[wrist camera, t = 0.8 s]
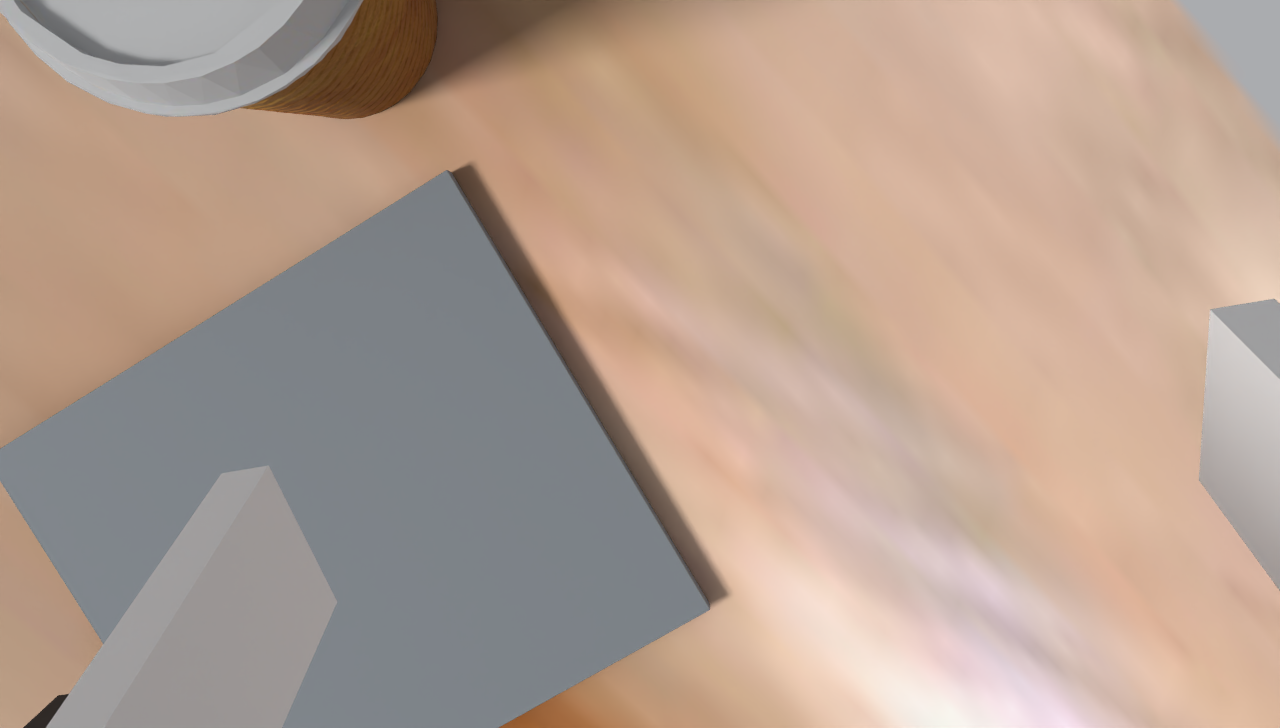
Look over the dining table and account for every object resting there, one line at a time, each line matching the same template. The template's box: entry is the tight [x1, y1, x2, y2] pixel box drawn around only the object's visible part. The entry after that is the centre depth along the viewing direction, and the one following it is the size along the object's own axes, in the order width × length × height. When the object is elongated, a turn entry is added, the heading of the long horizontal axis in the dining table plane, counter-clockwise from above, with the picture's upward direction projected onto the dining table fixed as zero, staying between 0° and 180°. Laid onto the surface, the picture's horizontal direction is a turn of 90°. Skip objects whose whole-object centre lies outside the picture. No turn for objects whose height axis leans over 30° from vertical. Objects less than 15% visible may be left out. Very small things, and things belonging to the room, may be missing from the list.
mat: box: [0, 170, 710, 728], centre depth 34 cm, size 17×19×1 cm
